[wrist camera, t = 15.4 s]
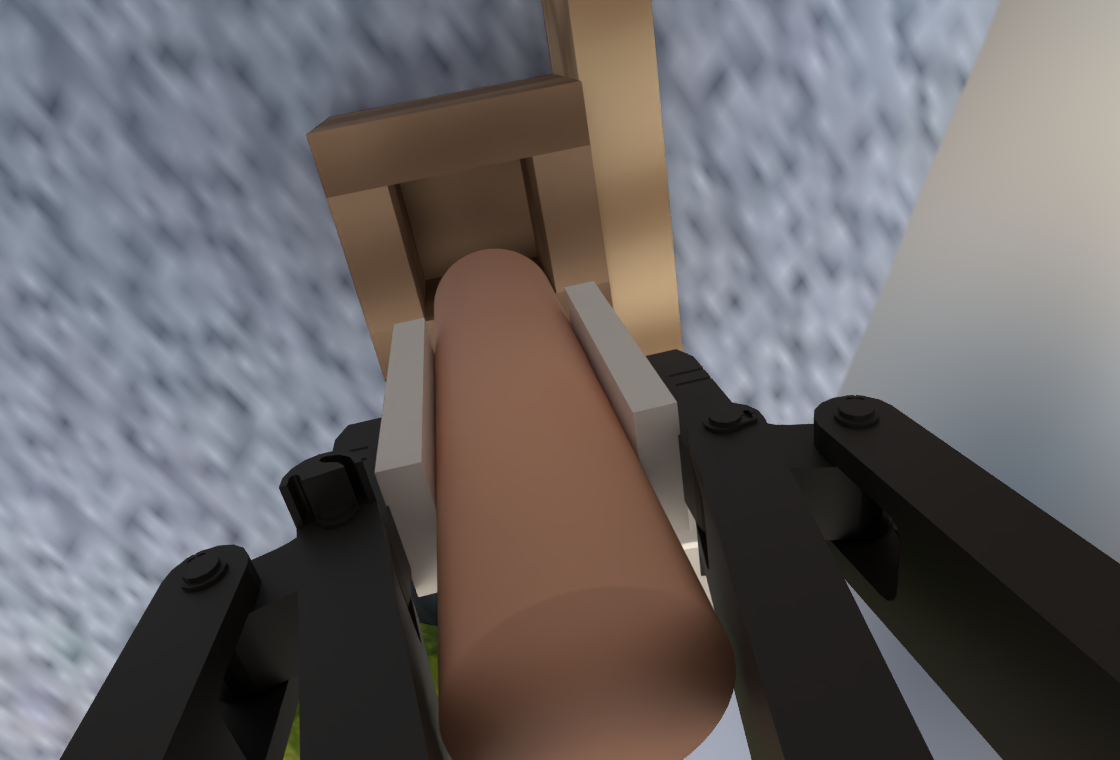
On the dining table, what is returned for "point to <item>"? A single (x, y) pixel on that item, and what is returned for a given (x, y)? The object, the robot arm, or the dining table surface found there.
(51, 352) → the dining table surface
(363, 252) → the block
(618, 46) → the backstop
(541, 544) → the dowel
